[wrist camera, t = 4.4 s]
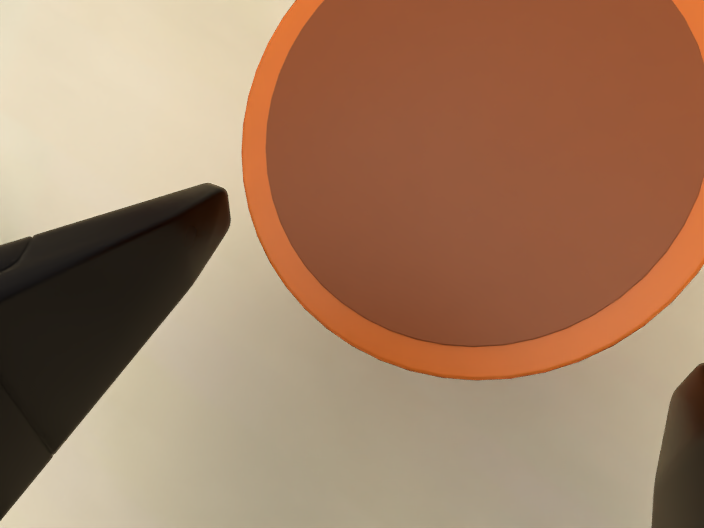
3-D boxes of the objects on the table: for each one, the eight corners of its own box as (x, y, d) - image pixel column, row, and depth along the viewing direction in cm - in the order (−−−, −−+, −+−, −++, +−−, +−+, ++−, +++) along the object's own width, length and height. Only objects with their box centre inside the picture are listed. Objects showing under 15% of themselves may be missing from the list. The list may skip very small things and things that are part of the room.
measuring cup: (533, 356, 18) (636, 471, 6) (371, 293, 19) (176, 274, 7) (673, -7, 17) (1101, -716, 5) (498, -42, 19) (519, -652, 7)
